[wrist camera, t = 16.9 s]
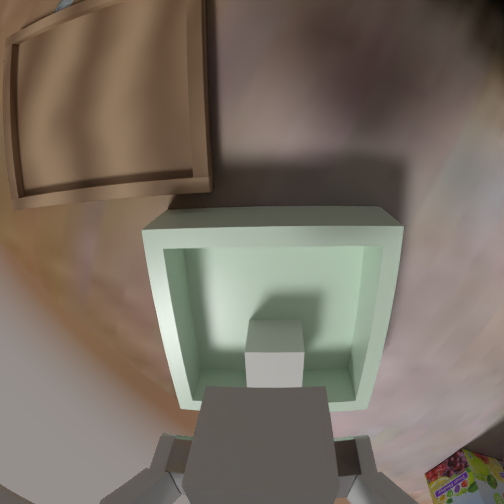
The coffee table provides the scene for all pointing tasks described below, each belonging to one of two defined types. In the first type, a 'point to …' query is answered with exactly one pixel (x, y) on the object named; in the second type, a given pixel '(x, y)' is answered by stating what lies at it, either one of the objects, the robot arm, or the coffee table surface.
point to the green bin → (274, 292)
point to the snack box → (467, 480)
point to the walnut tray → (108, 103)
